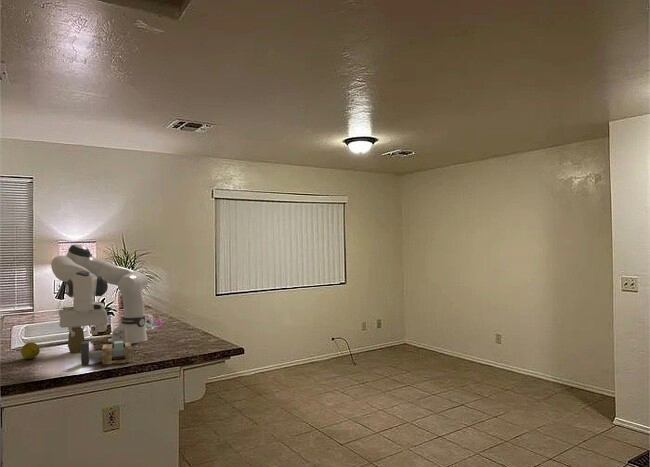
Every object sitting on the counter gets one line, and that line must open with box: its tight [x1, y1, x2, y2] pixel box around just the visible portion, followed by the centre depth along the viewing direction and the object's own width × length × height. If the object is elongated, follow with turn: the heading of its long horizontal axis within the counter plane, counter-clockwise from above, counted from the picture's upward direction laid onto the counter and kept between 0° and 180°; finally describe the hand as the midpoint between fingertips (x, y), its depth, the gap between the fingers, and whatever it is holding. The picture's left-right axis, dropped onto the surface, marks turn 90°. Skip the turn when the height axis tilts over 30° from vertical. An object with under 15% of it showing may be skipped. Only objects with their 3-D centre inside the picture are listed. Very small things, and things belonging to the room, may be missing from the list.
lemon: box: [20, 342, 40, 360], centre depth 233 cm, size 11×8×8 cm
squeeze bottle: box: [67, 326, 85, 354], centre depth 246 cm, size 8×8×18 cm
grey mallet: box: [80, 340, 134, 366], centre depth 225 cm, size 22×5×10 cm, turn 113°
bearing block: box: [101, 342, 132, 365], centre depth 227 cm, size 12×9×8 cm
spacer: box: [113, 341, 124, 351], centre depth 227 cm, size 4×5×4 cm
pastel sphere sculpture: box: [144, 312, 163, 332], centre depth 310 cm, size 25×24×9 cm
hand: (84, 335), depth 221 cm, fingers open, 8 cm apart
